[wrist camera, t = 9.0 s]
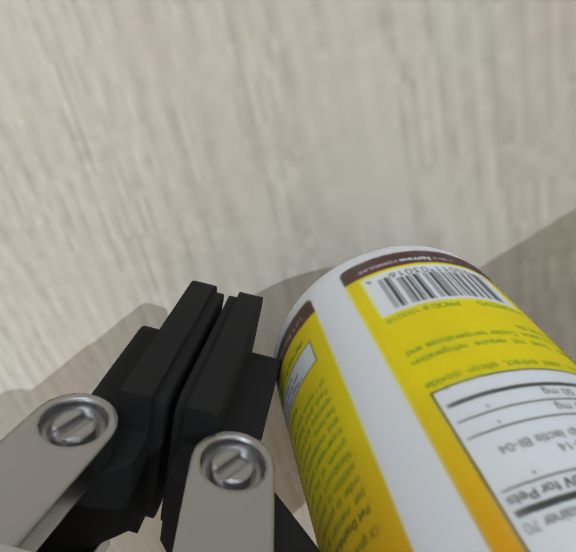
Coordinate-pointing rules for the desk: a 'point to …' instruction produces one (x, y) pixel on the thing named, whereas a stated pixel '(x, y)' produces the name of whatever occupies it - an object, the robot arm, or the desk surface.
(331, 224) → the desk surface
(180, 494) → the robot arm
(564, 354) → the supplement bottle
